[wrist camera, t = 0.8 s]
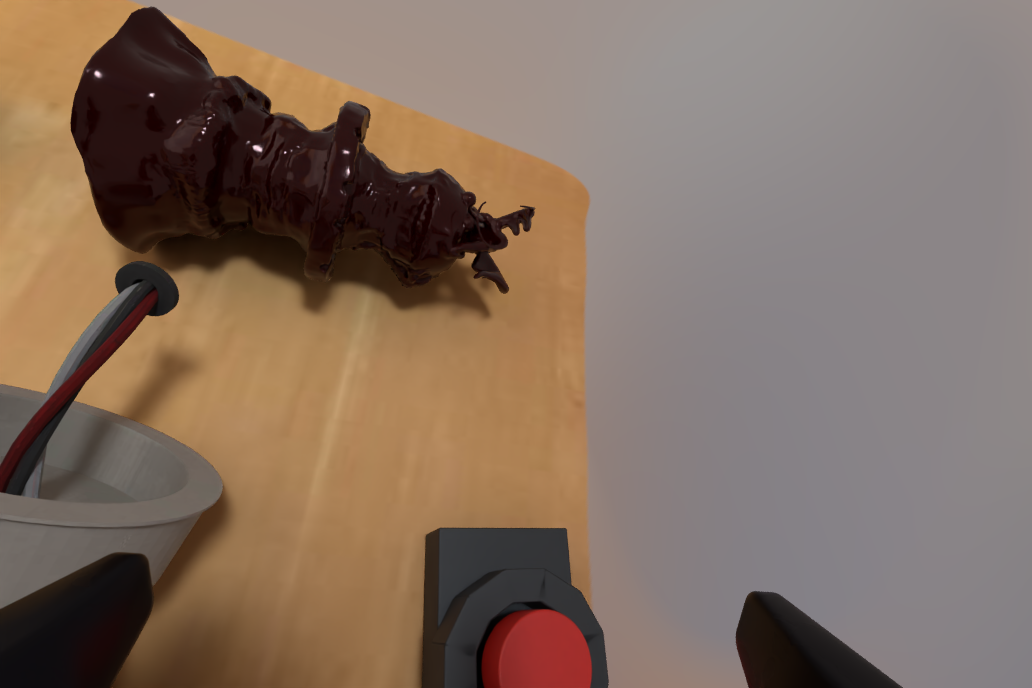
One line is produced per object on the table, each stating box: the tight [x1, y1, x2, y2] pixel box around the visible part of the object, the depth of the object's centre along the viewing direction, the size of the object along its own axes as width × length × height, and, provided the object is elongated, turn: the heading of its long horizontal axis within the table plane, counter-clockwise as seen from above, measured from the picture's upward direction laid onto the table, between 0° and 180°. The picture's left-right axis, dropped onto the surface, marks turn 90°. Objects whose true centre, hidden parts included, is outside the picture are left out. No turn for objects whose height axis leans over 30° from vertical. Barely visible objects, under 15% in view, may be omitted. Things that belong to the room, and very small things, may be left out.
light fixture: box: [0, 261, 223, 609], centre depth 15 cm, size 11×16×10 cm, turn 164°
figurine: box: [71, 7, 535, 294], centre depth 25 cm, size 10×10×18 cm
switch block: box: [422, 528, 608, 688], centre depth 21 cm, size 10×6×4 cm, turn 3°
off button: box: [481, 609, 592, 688], centre depth 19 cm, size 4×4×2 cm
